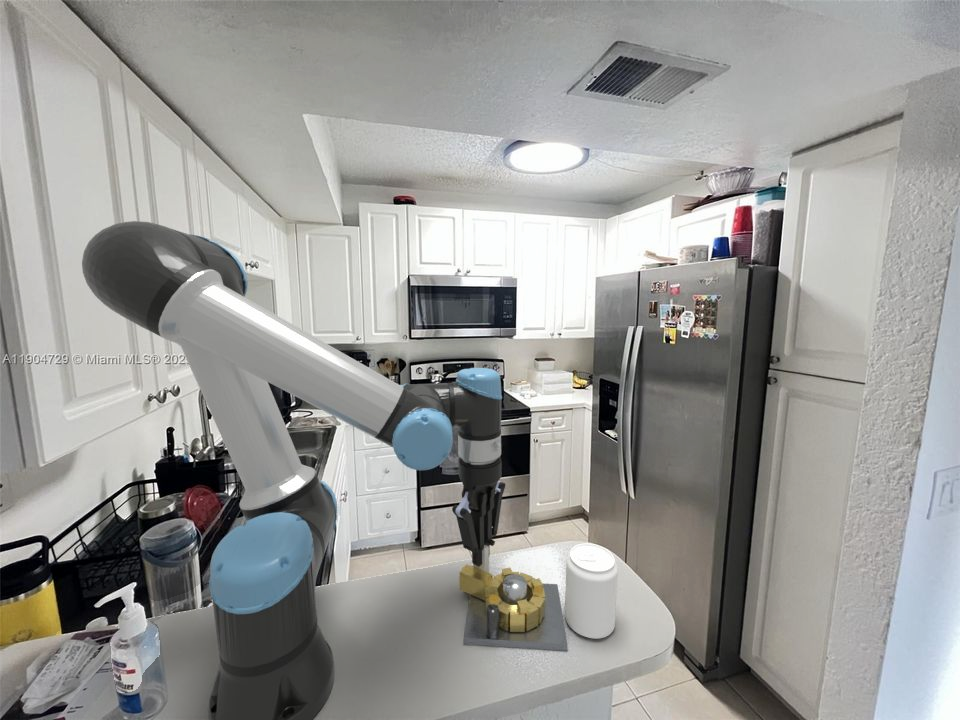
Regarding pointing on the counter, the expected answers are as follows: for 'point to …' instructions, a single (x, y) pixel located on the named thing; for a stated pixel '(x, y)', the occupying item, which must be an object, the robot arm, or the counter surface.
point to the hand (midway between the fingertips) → (481, 577)
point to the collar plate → (488, 633)
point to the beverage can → (591, 590)
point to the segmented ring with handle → (492, 592)
